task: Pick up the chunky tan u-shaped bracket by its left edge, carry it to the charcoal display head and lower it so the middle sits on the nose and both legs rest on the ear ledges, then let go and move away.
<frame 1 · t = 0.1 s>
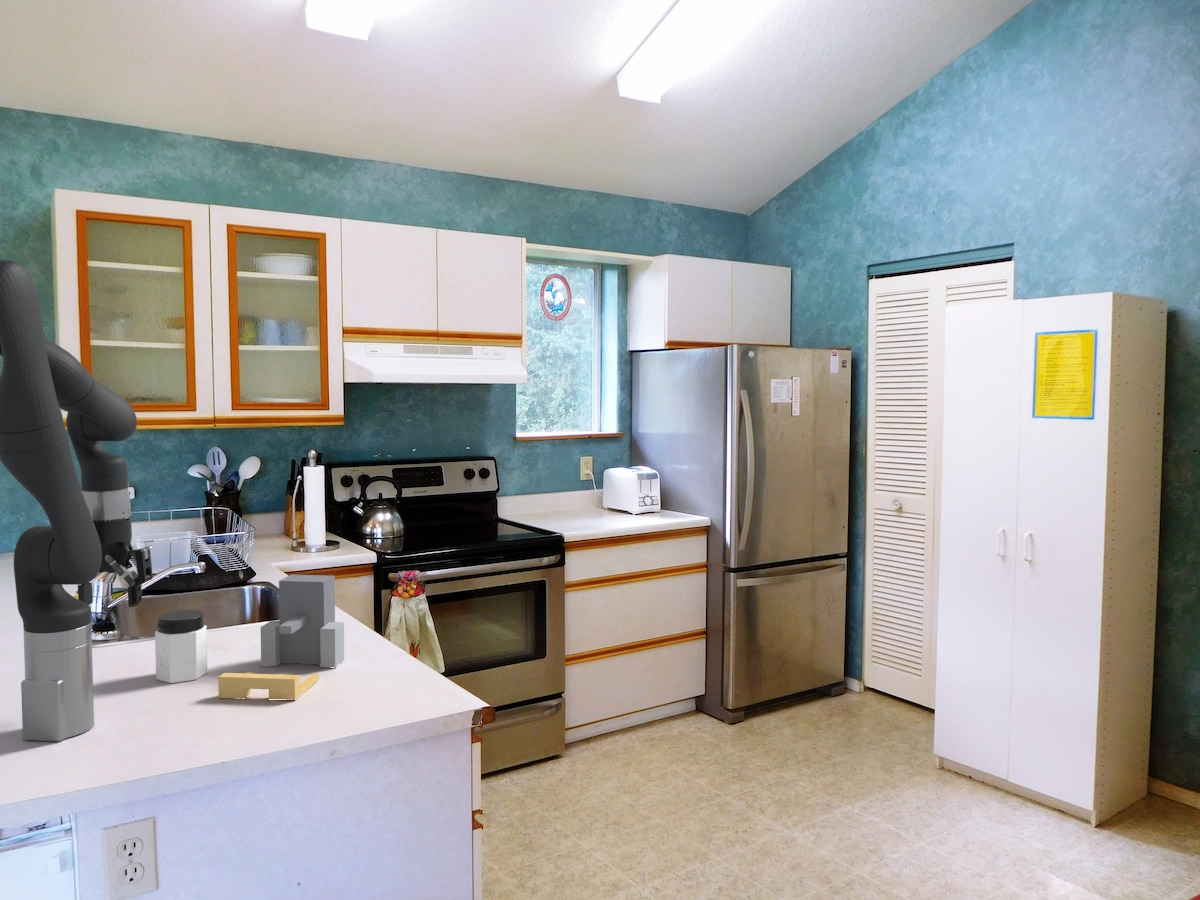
hand: (110, 605, 149), 17 cm above the counter, tool pointing down, fingers open, 8 cm apart
jar: (182, 677, 164), on the counter
display head: (287, 675, 165), on the counter
tan u-shaped bracket: (259, 697, 153), on the counter
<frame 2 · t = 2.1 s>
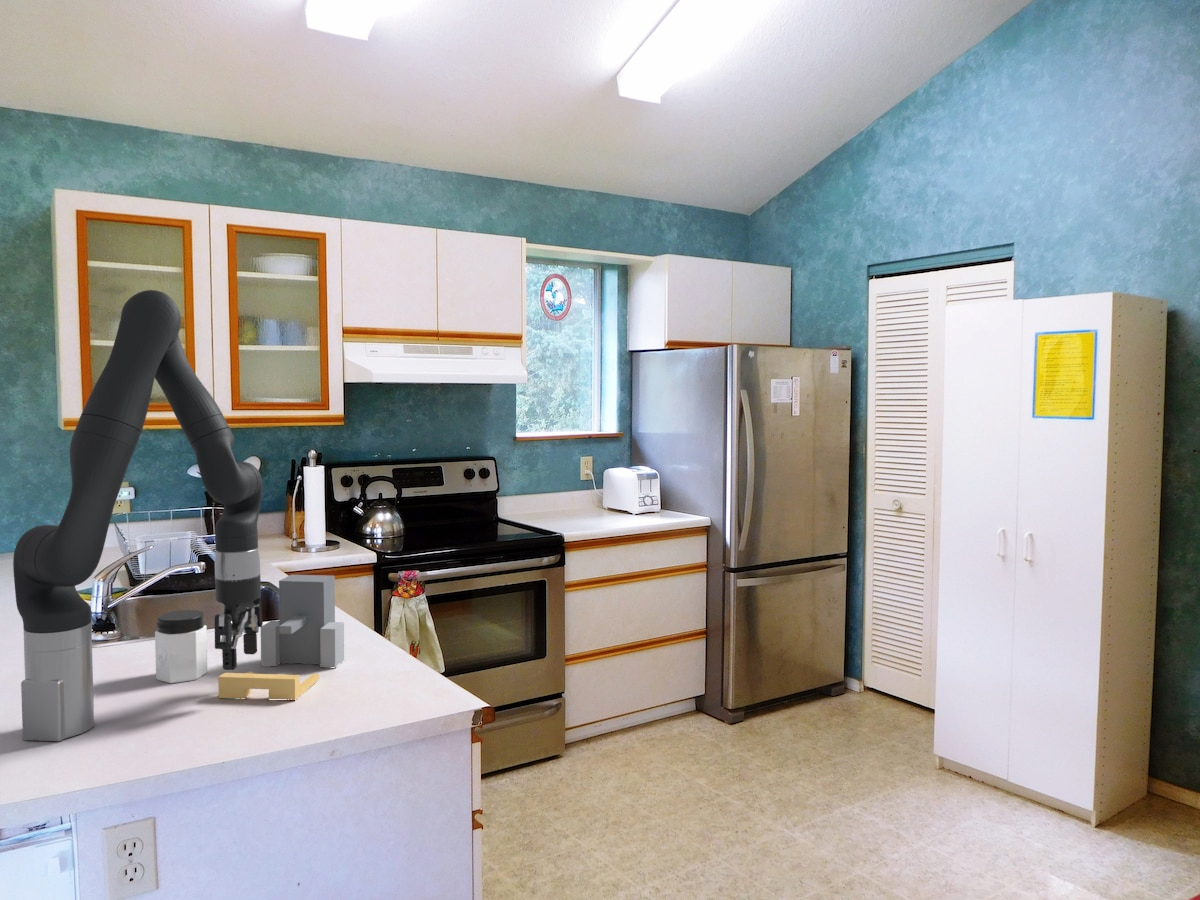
hand: (240, 661, 154), 6 cm above the counter, tool pointing down, fingers open, 8 cm apart
nothing on the counter moved.
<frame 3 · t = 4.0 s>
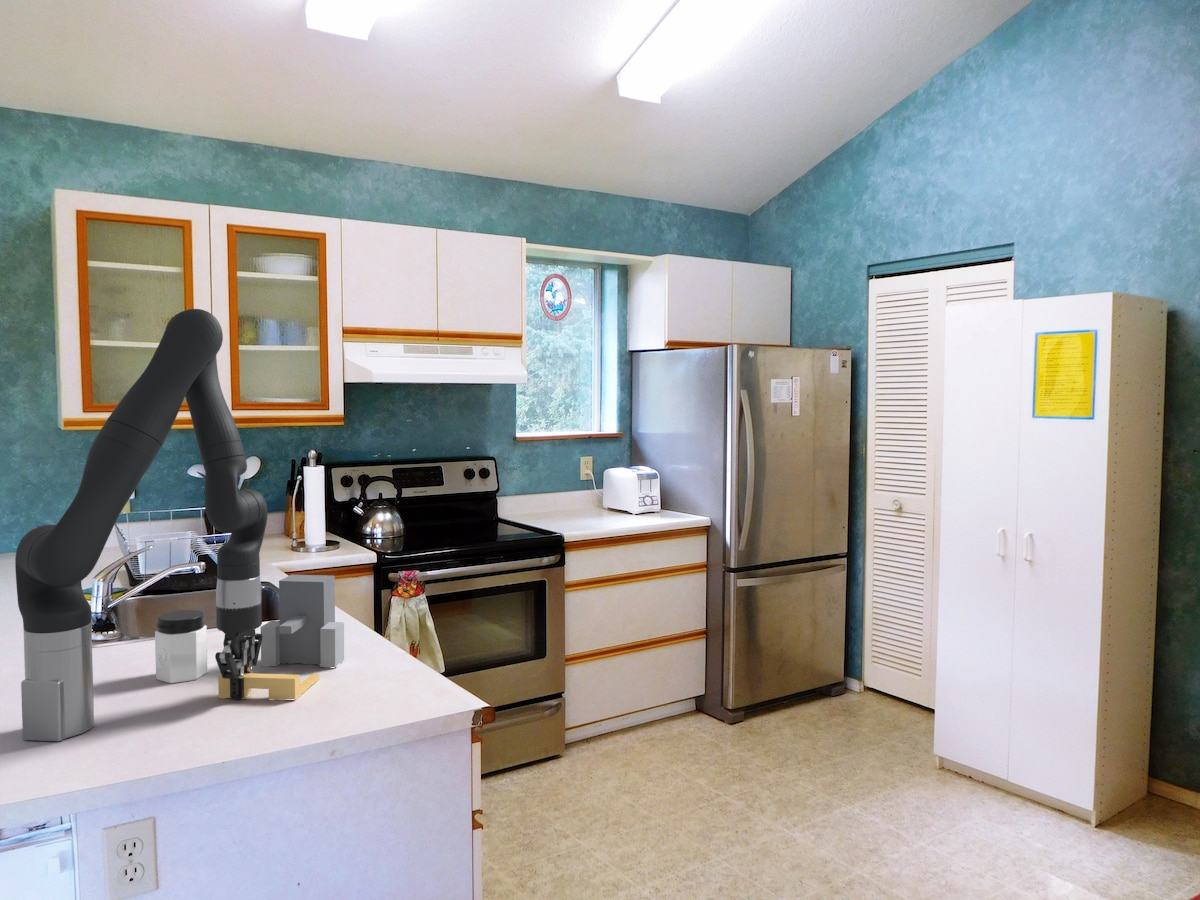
hand: (240, 695, 153), 0 cm above the counter, tool pointing down, fingers closed on tan u-shaped bracket, 2 cm apart
tan u-shaped bracket: (259, 697, 153), on the counter, touching gripper
everything else where it was.
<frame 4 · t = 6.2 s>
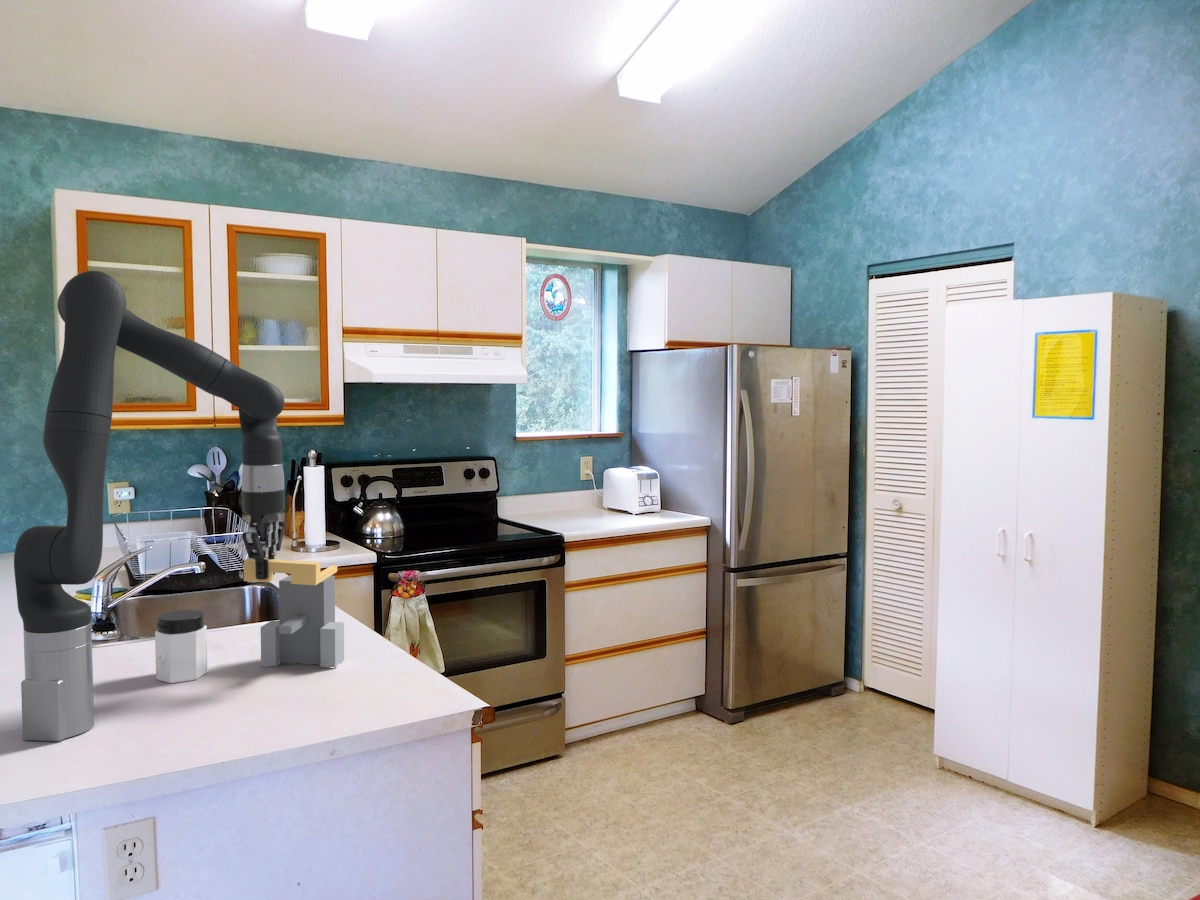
hand: (265, 576, 162), 20 cm above the counter, tool pointing down, fingers closed on tan u-shaped bracket
tan u-shaped bracket: (282, 581, 162), point 19 cm above the counter, touching gripper
everything else where it was.
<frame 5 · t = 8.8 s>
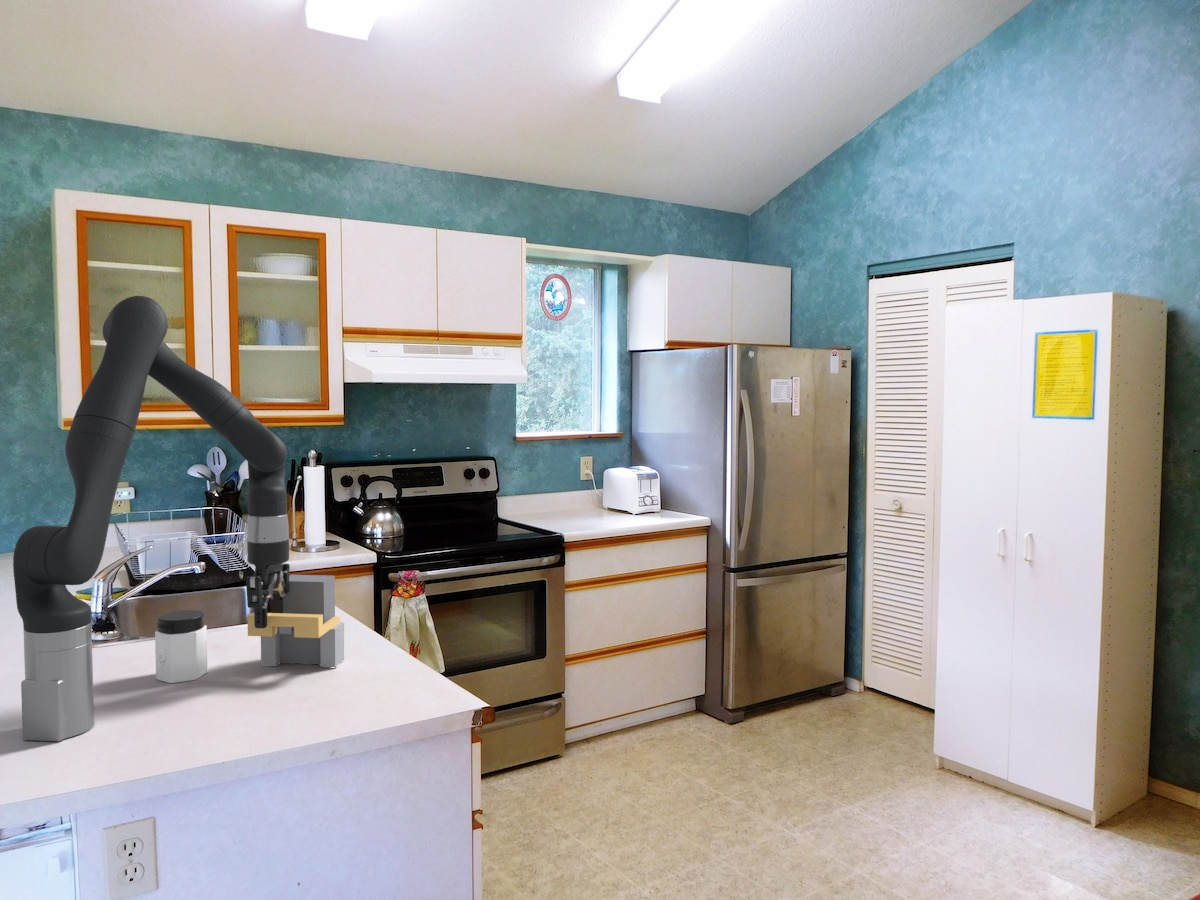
hand: (269, 622, 164), 10 cm above the counter, tool pointing down, fingers open, 6 cm apart
tan u-shaped bracket: (285, 635, 164), point 8 cm above the counter, touching display head
everything else where it was.
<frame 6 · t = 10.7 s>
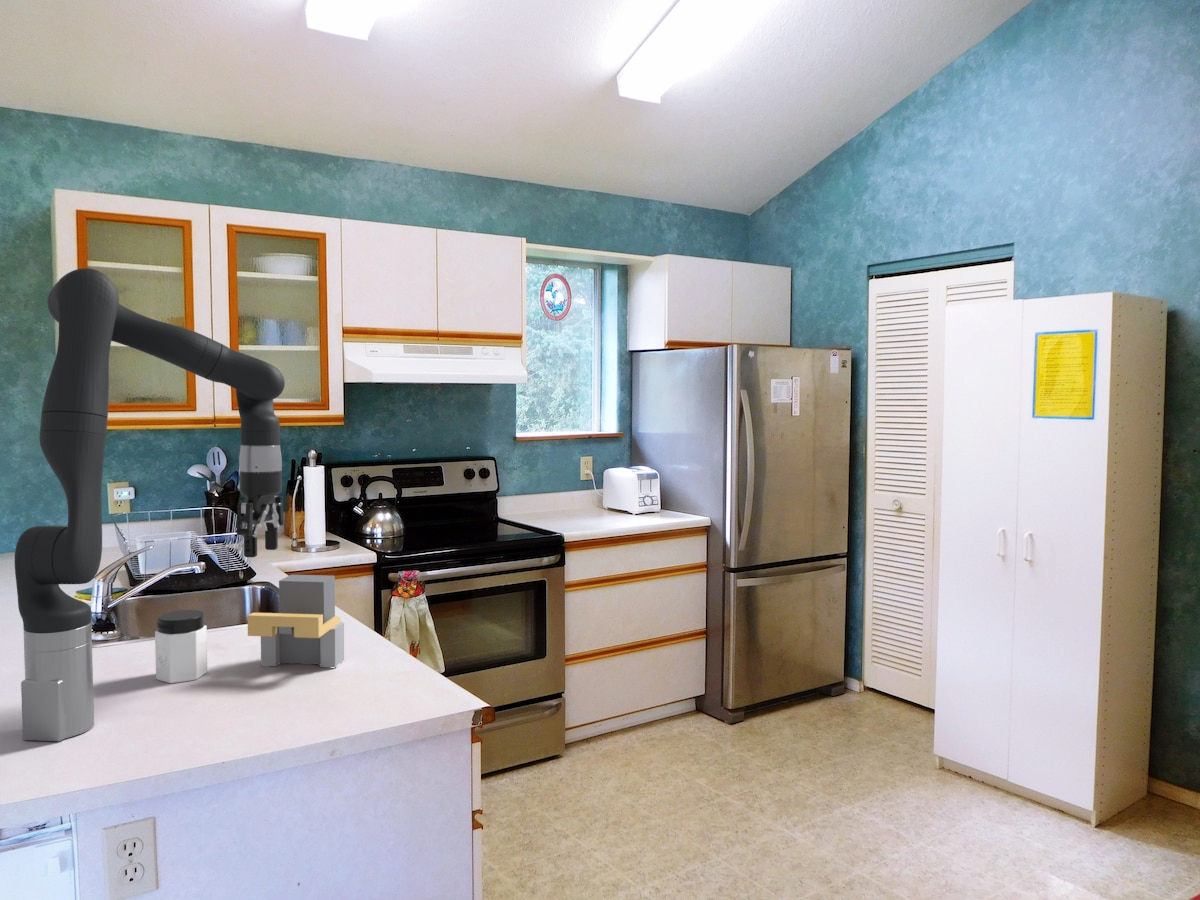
hand: (261, 553, 162), 24 cm above the counter, tool pointing down, fingers open, 8 cm apart
nothing on the counter moved.
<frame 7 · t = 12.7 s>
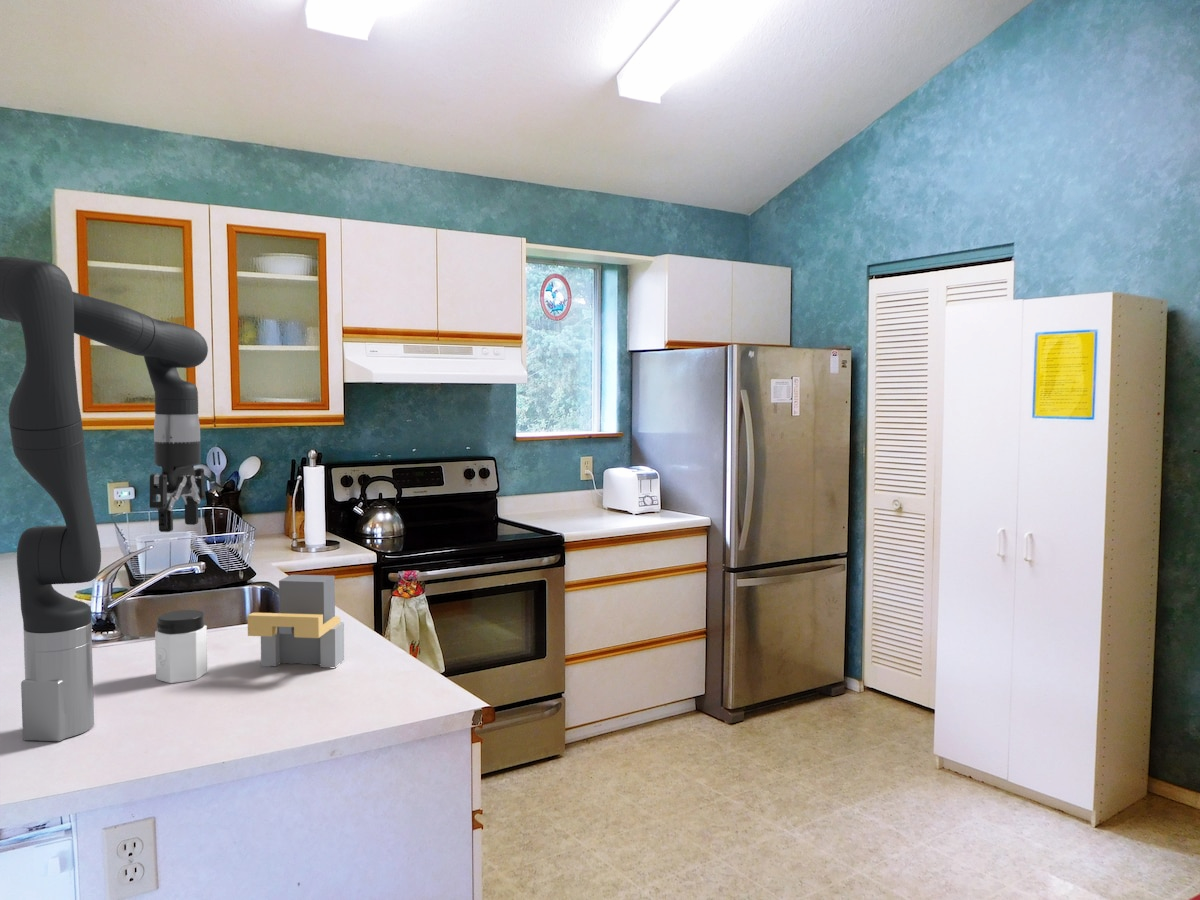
hand: (179, 527, 155), 30 cm above the counter, tool pointing down, fingers open, 8 cm apart
nothing on the counter moved.
at the end: tan u-shaped bracket 0.3 cm off-centre on the display head, point 8.0 cm above the display head's base; tan u-shaped bracket tilted 0°; the gripper is holding nothing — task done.
